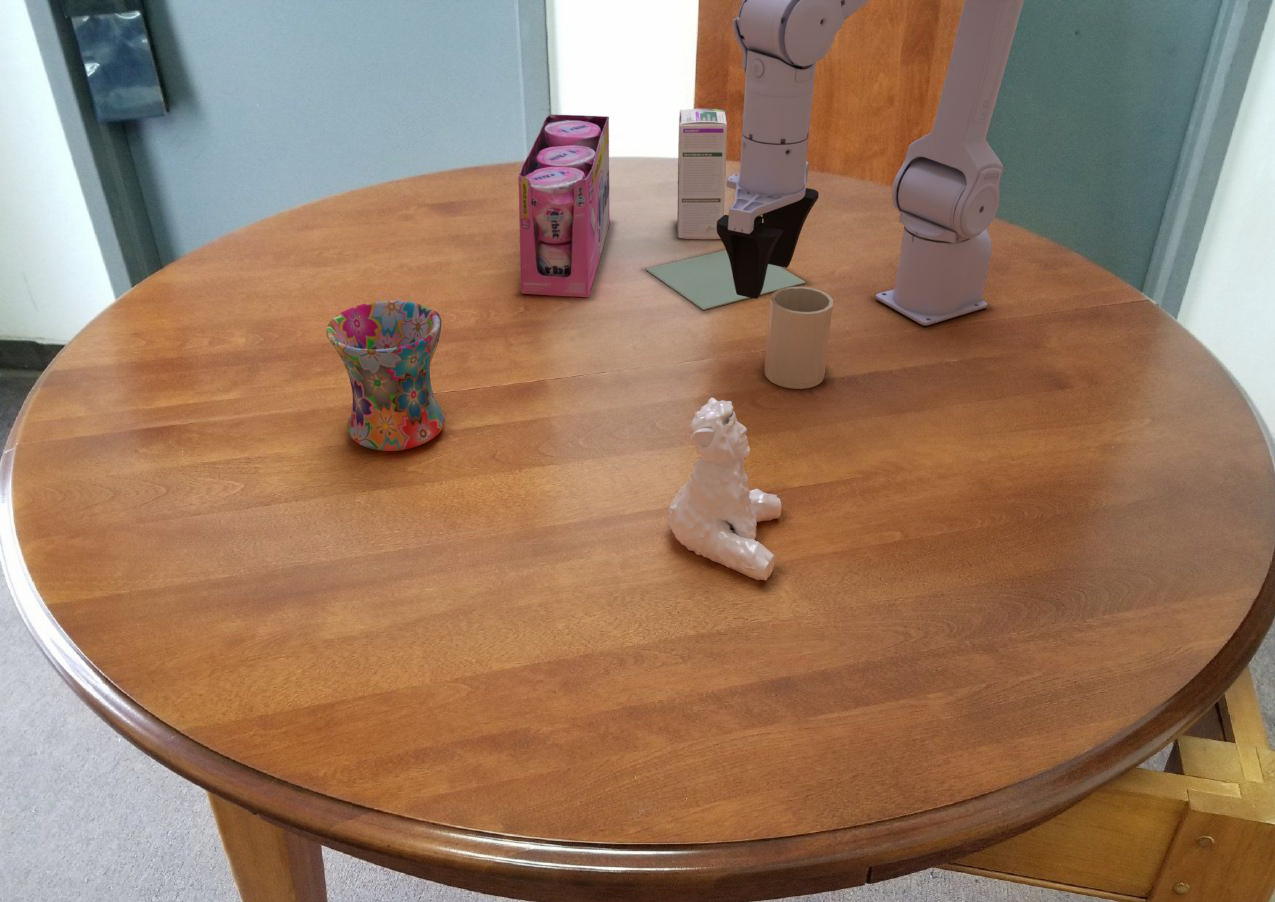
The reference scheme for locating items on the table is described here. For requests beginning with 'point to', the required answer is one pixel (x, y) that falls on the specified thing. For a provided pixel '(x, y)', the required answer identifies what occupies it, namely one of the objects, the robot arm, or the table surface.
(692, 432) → the seated beast figurine
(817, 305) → the cup
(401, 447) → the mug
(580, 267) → the gum box
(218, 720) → the table surface
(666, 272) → the mat
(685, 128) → the syrup box
